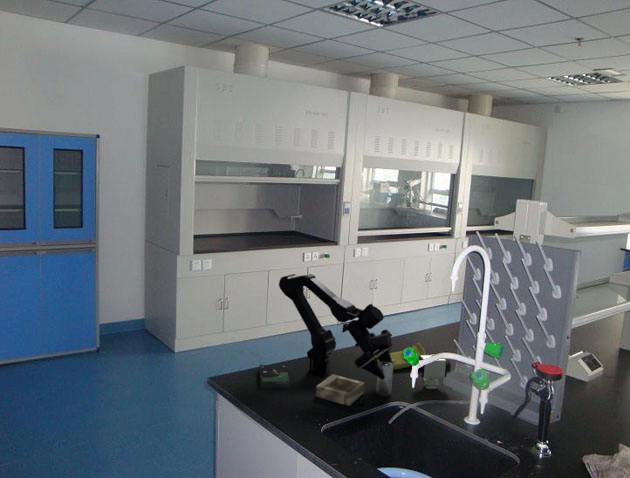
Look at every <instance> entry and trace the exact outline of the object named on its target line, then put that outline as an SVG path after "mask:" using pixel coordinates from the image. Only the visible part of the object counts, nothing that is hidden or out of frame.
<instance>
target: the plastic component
mask: <svg viewBox="0 0 630 478" xmlns="http://www.w3.org/2000/svg"><path fill="white" fill-rule="evenodd" d="M408 348H414V349H415V351H416V352H417V354H418V357H419V355H426V350H425V349H424V347H422V345H421V343H420V342H416V343H414V344H413V345H412V346H409V347H405V348H403V349H402V350H401V351H400V350H399V351H394V352H390V356H391V360H392V363H393V366H394V369H395V370H400V369H404V368H409V367H411V365H410V364H408V363H407V362H406V361H405V360H404V359H403V355H402V353H403V351H404V350H406V349H408ZM376 357H379V356H377V355H375V356H374V359H375V358H376ZM379 362H380V361H379V360H378V359H377V364H378V363H379Z"/></svg>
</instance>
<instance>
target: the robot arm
mask: <svg viewBox="0 0 630 478" xmlns="http://www.w3.org/2000/svg"><path fill="white" fill-rule="evenodd" d="M278 282H279V283H278V287H279V289H280V291H281V292H282V293H283V294H284V296H286V297H287V298H289V300H291V301H292V303H293V304H294V305H293V306H295V308H296V310H297V312H298V314H299V315H300V317H301V319H302V321H303V323H304V325H305V327H306V328H307V330H308V332H309V333H310V343H311V347H312V348H310V349H309V350H308V351H306V354H307V355H306V356H307V358H308V359H309V364H308V365H309V368H308V370H307V371H306V373H307V374H310V375H313V376H316V377H317V376H318V377H321V378H323V377H325V376H326V375H328V374H329V373H331V369H330V367H331V366H330V365H331V364H330V363H331V362H330V355H332V352H333V351H334V350H336V346H337V341H336V337H335V336H334V335H333V332H332V331H331V329H327V330H326V329H325V328H323V326H322V325H321V323H320V320H319V319H318V317H317V315H316V314H315V312H314V310H313V308H312V307H311V304H310V302H309V301H308V299H307V297H306V296H305V293H304V287H305V288H307V289H308V290H309V291H310V292H311V293H312V294H314V295H315V296H316V298H318V299H319V300H320V301H322V302H323V303H324V304H325V305H326V306H327V307H328V308H329V310H330V313H331V314H332V315H333V317H334V318H335V320H336V321H338V322H339V323H341V324H342V330H341V333H345V332H347V331H348V333H349V334H350V335H351V337H352V339H353V340H354V341H355V344H354V345H355V347H356V348H357V347H359V348H360V350H361V352H363V353H362V354H361V355H360V356H359V357H358V358H356V359H355V360H354V365H355V366H356V368H357V369H360V368H361V369H362V370H365V371H367V372H369V373H371V374H372V375H374V376H375V377H376V378H377V377H379V378H380V379H382V380H383V379H385V376H384V374H383V373H382V371H381V369H380V367H379V366H378V362H377V359H378V360H379V361H380V362H390V363H392V360H391V356H390V353H392V351H391V350H392V346H393V343H392V342H393V340H392V336H393V335H392V333H391V332H390V331H389V330H388V329H383V330H381V331H380V334H377V335H376V334H375V333H374V332H370V331H369V330H372V329H373V328H374V327H376V326H377V325H378V324H379V323H381V322H382V321H383V320H384V314H383V312H382V311H381V309H379V308H378V307H376V306H374V305H373V304H372V303H370V304H367V305H366V306H365V308H363V309H361V308H358V307H356V305H355V304H353V303H351V302H350V301H348V300H347V299H344V298H341V297H339V296H338V295H336V294H335V293H334V292H333V291H332V290H331V289H330V288H328V287H327V286H326V285H325V284H323V282H321V281H320V280H319V279H318V278H316V275H315V274H312V273H310V274H304V275H298V274H295V273H294V274H293V273H292V274H288V275H285V276H282V277H280V279H279V281H278ZM356 319H357V320H356ZM347 322H348V323H347ZM343 323H344V324H343ZM368 329H369V330H368ZM375 355H377V356H379V357H376V358H375V359H374V356H375ZM392 364H393V363H392ZM395 371H396V369H394V366H393V373H394V372H395Z"/></svg>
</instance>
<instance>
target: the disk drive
mask: <svg viewBox="0 0 630 478" xmlns="http://www.w3.org/2000/svg"><path fill="white" fill-rule="evenodd" d="M258 367H259V368H258V369H259V370H258V374H259V387H260V388H261V389H262V388H263V389H265V388H266V389H267V388H270V389H274V388H279V389H281V388H283V389H284V388H285V389H286V388H291V384H292V383H291V377H290V372H289V367H288V364H271V365H269V366H268V365H267V364H259V366H258Z"/></svg>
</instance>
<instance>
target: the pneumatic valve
mask: <svg viewBox="0 0 630 478" xmlns="http://www.w3.org/2000/svg"><path fill="white" fill-rule="evenodd" d="M434 355H435V354H434V353H433V354H430V355H429V354H425V355H419V357H418V359H419V360H423V359H426V358H429V357H431V356H434ZM451 369H452V366H451V361H450V360H448V359H447V358H446V359H439V360H436V361H434V362H432V363H429V364H427V365H424V366H423V367H421V368H419V369H418V373H417V374H418V375H419V376H420V377H421V378H423V380H422V387H425V389H427V390H437V389H438V387H439V385H440V381H439V379H438V378H447V375H448V374H449V373H450V371H451Z"/></svg>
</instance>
